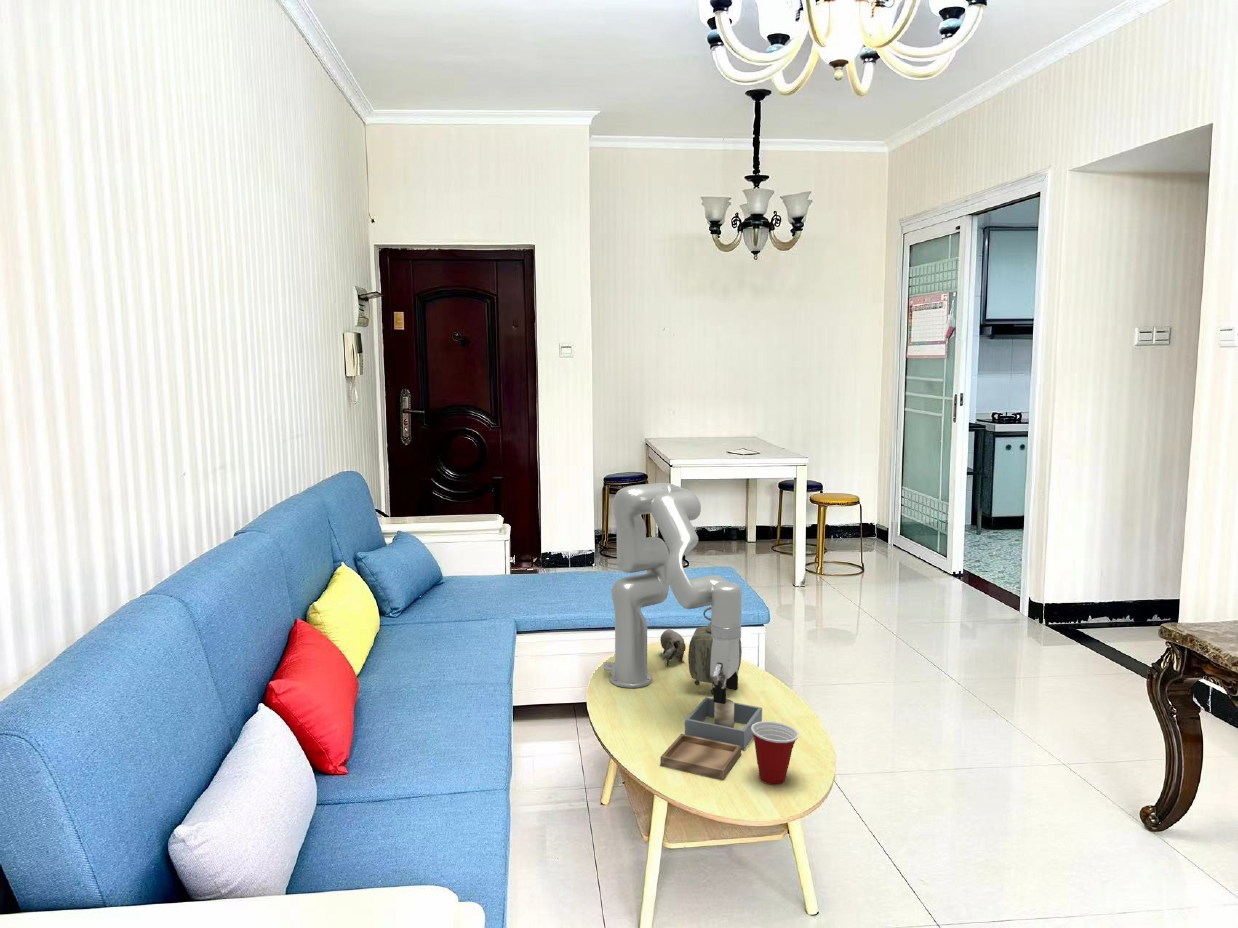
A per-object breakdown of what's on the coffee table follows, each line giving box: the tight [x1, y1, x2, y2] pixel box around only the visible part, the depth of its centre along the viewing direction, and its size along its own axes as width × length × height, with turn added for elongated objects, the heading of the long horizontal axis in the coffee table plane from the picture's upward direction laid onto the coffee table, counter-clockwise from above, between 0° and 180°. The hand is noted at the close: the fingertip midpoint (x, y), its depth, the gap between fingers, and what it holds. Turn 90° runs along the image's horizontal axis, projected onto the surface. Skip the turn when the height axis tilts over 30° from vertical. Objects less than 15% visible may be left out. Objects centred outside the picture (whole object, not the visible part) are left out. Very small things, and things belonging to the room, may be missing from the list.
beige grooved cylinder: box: [713, 698, 735, 728], centre depth 220 cm, size 5×5×8 cm
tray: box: [659, 733, 742, 781], centre depth 205 cm, size 16×14×2 cm
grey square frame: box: [684, 697, 763, 752], centre depth 220 cm, size 16×16×5 cm
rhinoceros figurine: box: [660, 628, 687, 667], centre depth 270 cm, size 8×14×15 cm
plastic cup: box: [751, 720, 800, 786], centre depth 196 cm, size 11×11×12 cm
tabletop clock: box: [687, 606, 742, 695], centre depth 245 cm, size 14×9×25 cm, turn 76°
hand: (725, 695), depth 219 cm, fingers open, 9 cm apart
